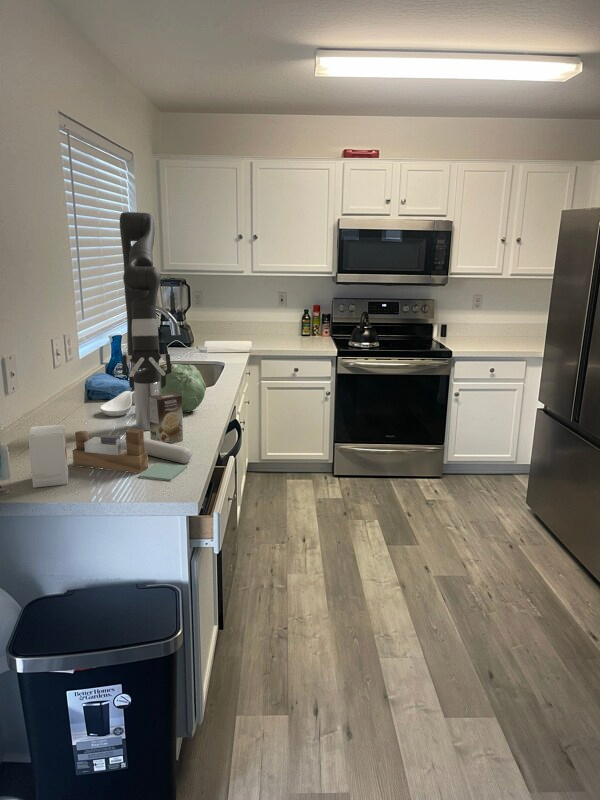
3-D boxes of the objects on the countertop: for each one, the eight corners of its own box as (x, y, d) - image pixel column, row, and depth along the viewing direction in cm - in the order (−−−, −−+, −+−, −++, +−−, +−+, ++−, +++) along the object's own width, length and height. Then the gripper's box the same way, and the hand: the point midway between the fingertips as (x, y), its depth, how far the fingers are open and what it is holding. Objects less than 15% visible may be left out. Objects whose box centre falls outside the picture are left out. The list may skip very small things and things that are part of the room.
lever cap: (95, 446, 176) (94, 431, 174) (128, 449, 173) (127, 434, 172) (84, 452, 170) (83, 437, 169) (118, 455, 168) (117, 440, 167)
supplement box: (68, 484, 159) (63, 432, 155) (32, 488, 156) (27, 435, 153) (69, 473, 167) (64, 423, 164) (35, 476, 164) (30, 426, 161)
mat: (156, 464, 175) (156, 462, 175) (187, 467, 173) (187, 465, 173) (138, 477, 165) (138, 475, 165) (170, 480, 163) (170, 478, 162)
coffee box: (160, 446, 192) (158, 399, 188) (150, 442, 196) (147, 396, 192) (183, 440, 198) (182, 395, 194) (173, 436, 202) (171, 391, 199)
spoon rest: (123, 420, 223) (122, 402, 221) (94, 418, 225) (93, 400, 223) (149, 405, 246) (148, 388, 244) (123, 403, 248) (122, 387, 246)
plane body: (82, 461, 177) (79, 423, 174) (148, 467, 172) (146, 429, 169) (73, 466, 173) (70, 427, 170) (140, 473, 168) (138, 433, 165)
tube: (195, 462, 179) (136, 447, 191) (194, 446, 177) (135, 432, 189) (183, 467, 174) (123, 452, 186) (183, 450, 173) (122, 436, 185)
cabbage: (206, 416, 228) (205, 366, 223) (157, 417, 226) (155, 367, 221) (207, 406, 243) (205, 359, 239) (161, 407, 241) (159, 360, 236)
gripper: (168, 334, 178) (171, 386, 180) (120, 335, 174) (123, 389, 176) (170, 334, 171) (172, 388, 173) (119, 335, 167) (122, 391, 169)
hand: (147, 388), depth 174 cm, fingers open, 8 cm apart
